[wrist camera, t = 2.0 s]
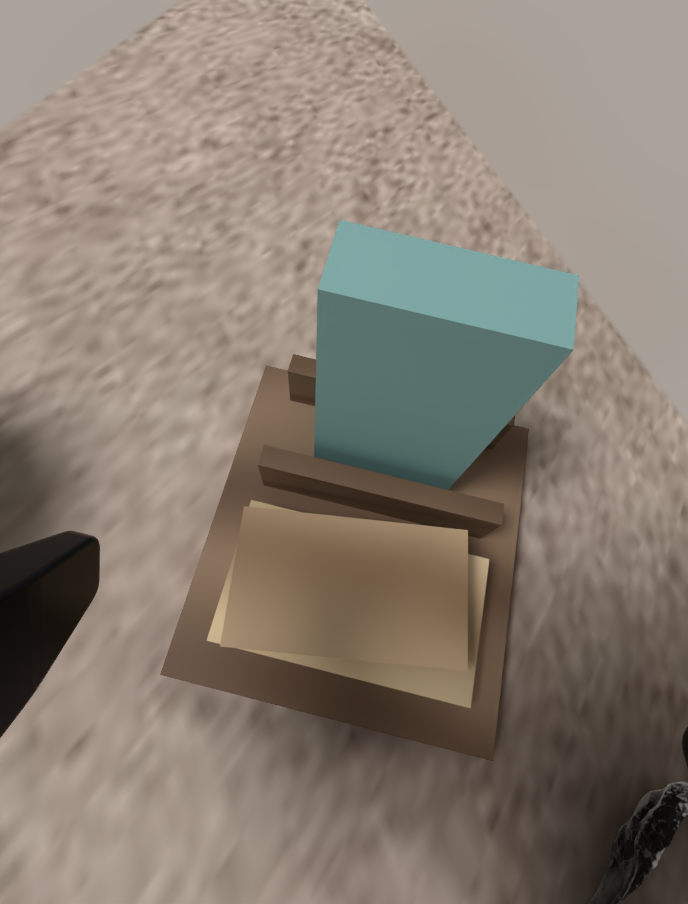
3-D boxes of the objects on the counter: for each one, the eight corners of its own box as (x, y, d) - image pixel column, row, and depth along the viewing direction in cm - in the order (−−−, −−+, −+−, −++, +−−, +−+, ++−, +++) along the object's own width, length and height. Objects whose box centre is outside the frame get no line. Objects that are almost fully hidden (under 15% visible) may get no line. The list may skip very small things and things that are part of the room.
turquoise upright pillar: (442, 495, 21) (573, 349, 10) (313, 464, 21) (317, 289, 11) (450, 452, 21) (579, 275, 11) (325, 422, 21) (340, 219, 11)
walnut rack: (481, 753, 18) (521, 779, 15) (169, 672, 19) (137, 679, 15) (518, 439, 23) (554, 403, 20) (268, 378, 23) (260, 333, 20)
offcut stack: (456, 703, 18) (486, 714, 15) (215, 640, 18) (196, 640, 15) (477, 555, 20) (506, 539, 17) (258, 500, 20) (249, 476, 17)
